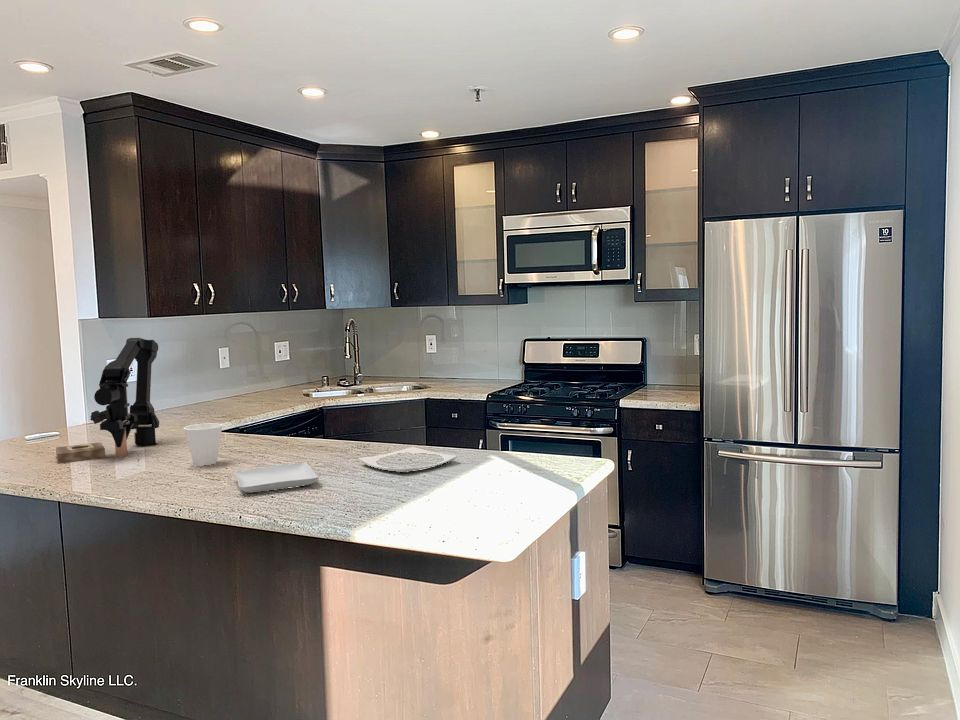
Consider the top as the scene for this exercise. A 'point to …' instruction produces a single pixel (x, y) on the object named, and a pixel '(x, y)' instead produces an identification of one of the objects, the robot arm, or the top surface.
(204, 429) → the cup
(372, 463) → the plate
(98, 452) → the socket block
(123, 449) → the peg
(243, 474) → the salad plate
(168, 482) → the top surface
